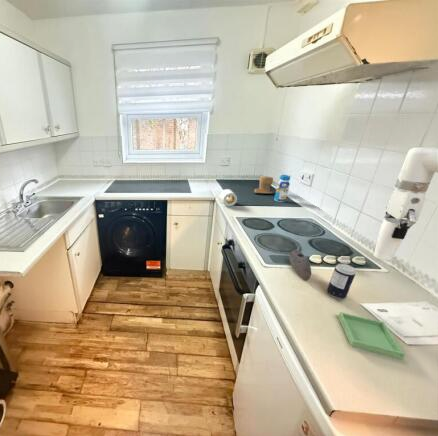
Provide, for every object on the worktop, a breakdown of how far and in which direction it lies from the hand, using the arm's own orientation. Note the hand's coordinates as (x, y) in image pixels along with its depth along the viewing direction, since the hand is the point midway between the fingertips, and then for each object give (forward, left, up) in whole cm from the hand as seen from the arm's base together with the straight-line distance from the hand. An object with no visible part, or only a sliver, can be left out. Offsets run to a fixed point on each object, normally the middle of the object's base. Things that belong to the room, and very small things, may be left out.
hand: (391, 233), depth 86 cm
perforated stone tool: (+25, +4, -21) cm, 33 cm away
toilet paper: (+60, -77, -21) cm, 100 cm away
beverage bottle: (+22, -99, -21) cm, 104 cm away
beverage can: (+15, +15, -21) cm, 30 cm away
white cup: (0, 0, -10) cm, 10 cm away
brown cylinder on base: (+34, -117, -21) cm, 124 cm away
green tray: (+12, +33, -21) cm, 41 cm away
